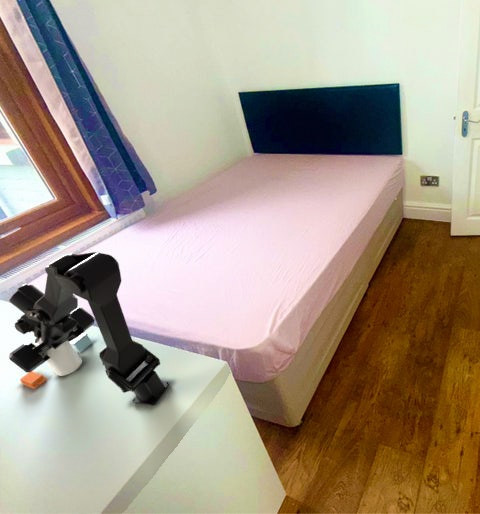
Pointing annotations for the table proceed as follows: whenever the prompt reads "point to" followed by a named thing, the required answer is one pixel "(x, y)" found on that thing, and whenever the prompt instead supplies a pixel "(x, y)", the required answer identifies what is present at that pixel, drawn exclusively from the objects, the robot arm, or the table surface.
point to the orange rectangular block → (33, 380)
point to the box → (81, 342)
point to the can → (62, 358)
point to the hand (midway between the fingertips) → (54, 350)
